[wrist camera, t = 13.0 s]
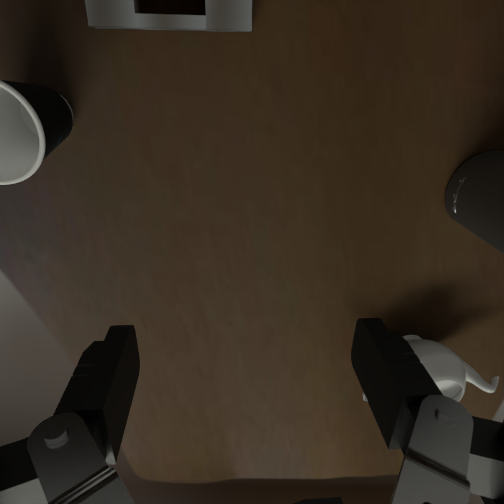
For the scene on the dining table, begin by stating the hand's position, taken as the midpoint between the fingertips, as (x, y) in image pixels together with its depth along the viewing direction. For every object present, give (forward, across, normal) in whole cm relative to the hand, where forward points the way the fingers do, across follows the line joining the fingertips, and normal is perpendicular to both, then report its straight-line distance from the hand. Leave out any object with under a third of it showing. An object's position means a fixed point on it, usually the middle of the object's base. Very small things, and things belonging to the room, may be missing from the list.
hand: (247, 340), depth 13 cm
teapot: (+30, -26, +28) cm, 49 cm away
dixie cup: (+30, +18, -4) cm, 35 cm away
